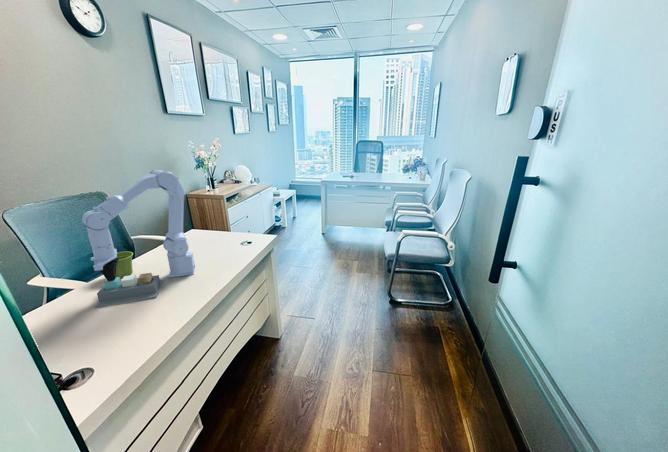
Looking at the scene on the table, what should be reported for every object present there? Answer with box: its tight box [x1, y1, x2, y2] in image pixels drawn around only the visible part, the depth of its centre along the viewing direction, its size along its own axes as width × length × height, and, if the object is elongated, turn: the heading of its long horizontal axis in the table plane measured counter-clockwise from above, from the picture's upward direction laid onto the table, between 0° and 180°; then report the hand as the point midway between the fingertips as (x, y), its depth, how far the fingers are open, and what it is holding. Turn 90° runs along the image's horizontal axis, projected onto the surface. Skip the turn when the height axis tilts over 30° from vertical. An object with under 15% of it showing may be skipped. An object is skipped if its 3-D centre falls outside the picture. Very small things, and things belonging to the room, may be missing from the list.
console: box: [94, 274, 164, 309], centre depth 98 cm, size 18×13×4 cm
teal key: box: [103, 277, 122, 290], centre depth 95 cm, size 4×4×4 cm
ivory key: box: [120, 274, 138, 287], centre depth 97 cm, size 4×4×4 cm
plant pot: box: [116, 251, 134, 279], centre depth 110 cm, size 9×9×9 cm
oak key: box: [137, 272, 153, 285], centre depth 99 cm, size 4×4×4 cm
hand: (111, 279), depth 95 cm, fingers closed
